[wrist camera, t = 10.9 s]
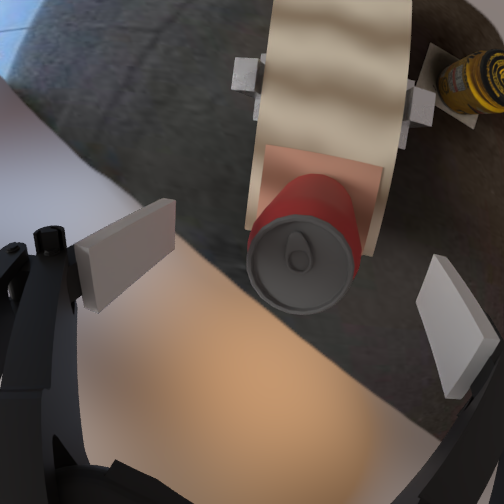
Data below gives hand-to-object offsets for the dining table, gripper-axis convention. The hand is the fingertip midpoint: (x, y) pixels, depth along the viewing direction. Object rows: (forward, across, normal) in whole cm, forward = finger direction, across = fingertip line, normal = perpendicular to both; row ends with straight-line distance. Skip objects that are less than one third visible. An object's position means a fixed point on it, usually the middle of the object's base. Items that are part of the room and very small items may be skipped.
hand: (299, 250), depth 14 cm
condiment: (+22, +14, +15) cm, 30 cm away
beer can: (+13, 0, -1) cm, 13 cm away
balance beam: (+14, 0, +10) cm, 17 cm away
